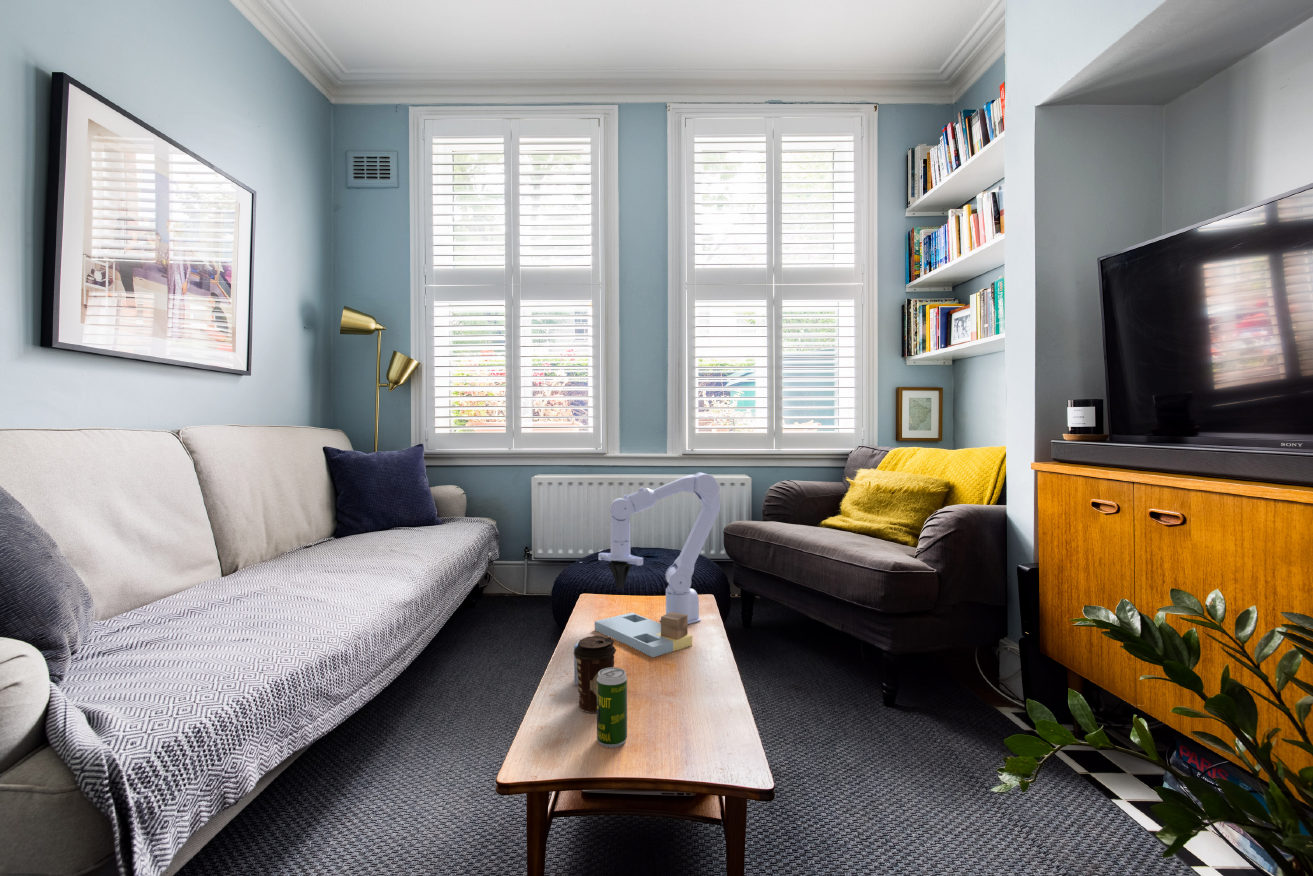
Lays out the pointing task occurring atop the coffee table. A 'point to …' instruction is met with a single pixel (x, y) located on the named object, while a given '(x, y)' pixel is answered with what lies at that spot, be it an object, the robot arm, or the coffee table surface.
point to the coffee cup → (592, 667)
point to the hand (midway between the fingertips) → (620, 587)
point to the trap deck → (641, 634)
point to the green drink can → (611, 707)
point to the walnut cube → (674, 625)
